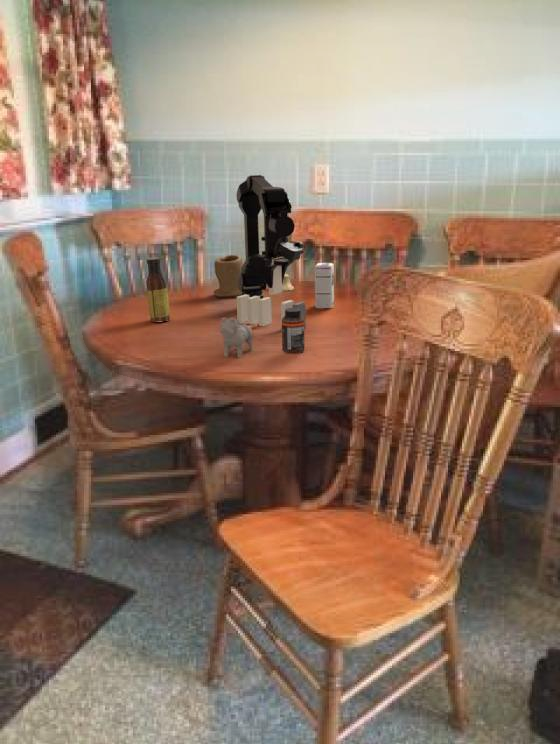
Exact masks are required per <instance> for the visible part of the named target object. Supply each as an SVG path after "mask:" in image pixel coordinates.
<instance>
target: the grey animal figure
mask: <svg viewBox="0 0 560 744" xmlns="http://www.w3.org/2000/svg"><path fill="white" fill-rule="evenodd" d="M219 334H221V335H222V342H223V344H224V354H223V356H224V357H229V356H230V352H231V348H232V347H233V348H235V350H236V349H237V350H236V351H237V355H236V357H237V358H242V357H243V348H244V347H243V345H245V343H247V344H248V351H249V350H250V352H252V351H253V330H252V328H251V327H250V326H249V325H246V323H245V322H241V323H240V322H238V319H236V318H234V317H230V318H226V317H222V318H221V324H220V330H219ZM251 350H252V351H251Z"/></svg>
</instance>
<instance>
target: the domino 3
mask: <svg viewBox="0 0 560 744" xmlns="http://www.w3.org/2000/svg"><path fill="white" fill-rule="evenodd" d="M258 313H259V322H258V326H259V327H265V326H267V325H270V324H272V323H273V322H272V320H273V319H272V298H271V297H268V296H267V297H263V299H259V300H258Z"/></svg>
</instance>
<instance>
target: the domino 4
mask: <svg viewBox="0 0 560 744" xmlns="http://www.w3.org/2000/svg"><path fill="white" fill-rule="evenodd" d="M282 292H283V291H282V266H281V265H277V267H276V268H275V269H274V272H273V287H272V288H269V287H268V295H272V296H275V295H278V294H282Z"/></svg>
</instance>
